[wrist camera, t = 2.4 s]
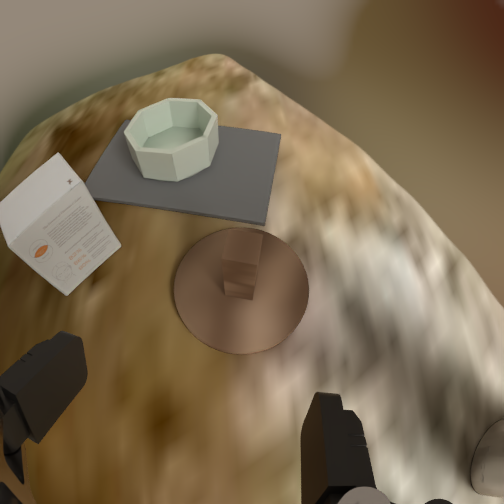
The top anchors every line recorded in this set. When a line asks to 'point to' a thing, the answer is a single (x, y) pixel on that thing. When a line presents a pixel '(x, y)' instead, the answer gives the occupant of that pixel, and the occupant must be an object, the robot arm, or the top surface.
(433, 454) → the top surface
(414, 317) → the top surface
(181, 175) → the bowl
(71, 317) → the top surface
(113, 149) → the mat
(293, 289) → the lid
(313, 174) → the top surface
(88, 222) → the small box
